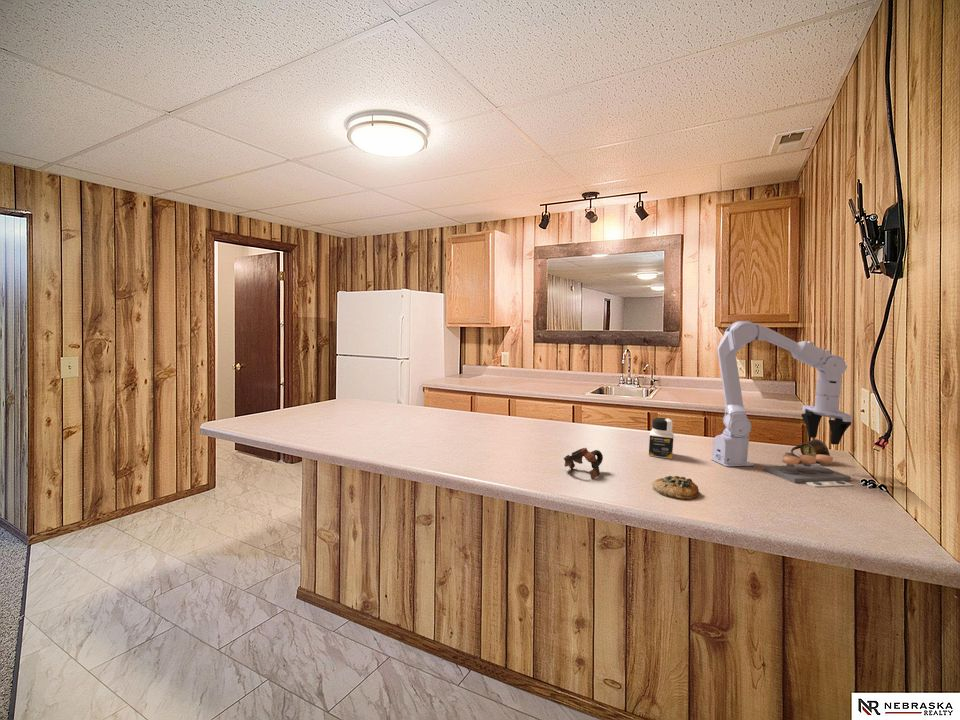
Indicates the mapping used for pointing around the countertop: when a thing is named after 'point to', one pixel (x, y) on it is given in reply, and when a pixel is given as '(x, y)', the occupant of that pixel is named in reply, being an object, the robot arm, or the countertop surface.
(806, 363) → the robot arm
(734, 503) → the countertop surface
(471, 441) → the countertop surface
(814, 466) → the board
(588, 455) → the brown jointed linkage
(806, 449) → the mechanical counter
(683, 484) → the bread roll
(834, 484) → the card
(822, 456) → the button
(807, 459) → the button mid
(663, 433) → the medicine bottle
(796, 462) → the button
